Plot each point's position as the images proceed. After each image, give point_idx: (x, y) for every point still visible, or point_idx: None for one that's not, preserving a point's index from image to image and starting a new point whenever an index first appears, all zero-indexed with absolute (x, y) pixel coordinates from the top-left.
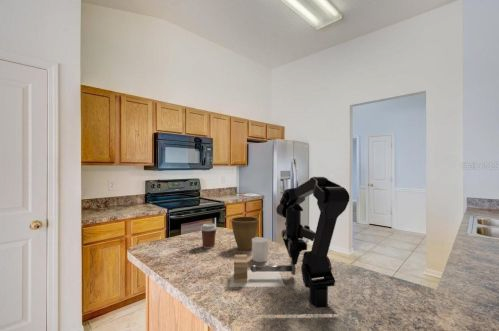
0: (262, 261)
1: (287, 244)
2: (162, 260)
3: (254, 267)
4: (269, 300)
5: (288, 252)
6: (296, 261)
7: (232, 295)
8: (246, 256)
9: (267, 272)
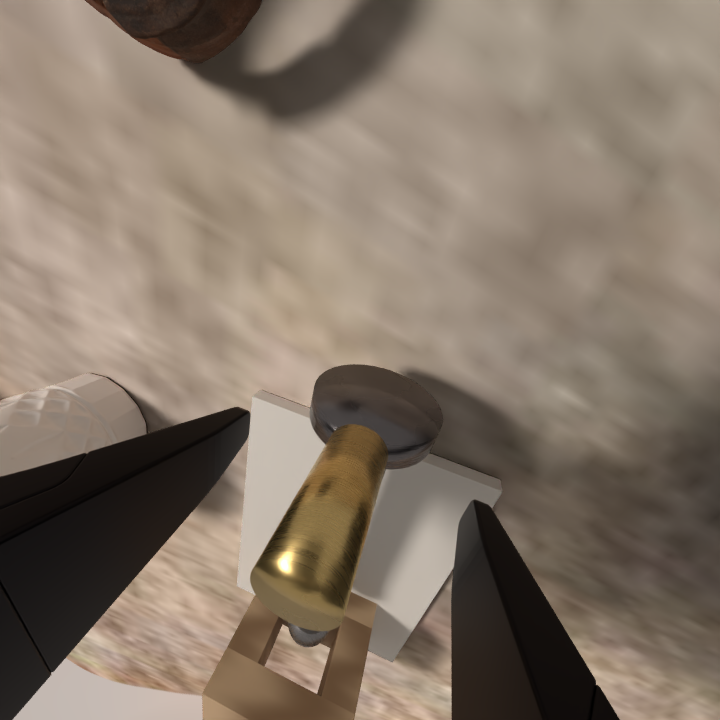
0: (133, 427)
1: (19, 671)
2: (150, 663)
3: (320, 639)
4: (582, 605)
5: (191, 509)
6: (511, 559)
7: (450, 666)
8: (235, 713)
9: (281, 474)
